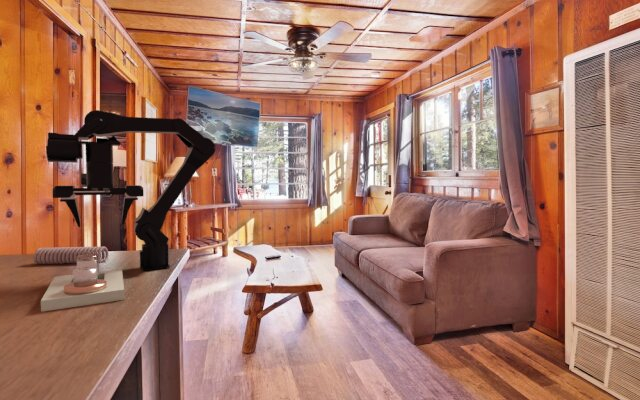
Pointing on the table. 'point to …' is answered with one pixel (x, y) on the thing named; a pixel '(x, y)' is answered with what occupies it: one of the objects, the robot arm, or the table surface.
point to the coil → (67, 254)
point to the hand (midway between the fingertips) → (101, 225)
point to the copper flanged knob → (85, 282)
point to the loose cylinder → (88, 261)
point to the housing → (60, 300)
